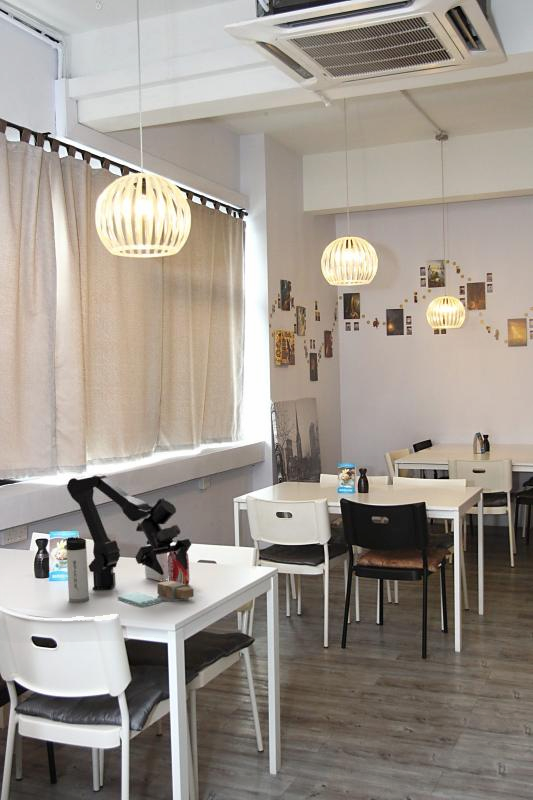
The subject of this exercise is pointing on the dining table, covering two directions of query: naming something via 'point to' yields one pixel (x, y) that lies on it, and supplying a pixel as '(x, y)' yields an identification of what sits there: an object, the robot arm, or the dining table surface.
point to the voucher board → (139, 599)
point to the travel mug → (77, 569)
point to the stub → (174, 590)
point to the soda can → (177, 570)
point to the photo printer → (163, 563)
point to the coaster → (165, 598)
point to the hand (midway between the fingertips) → (175, 571)
